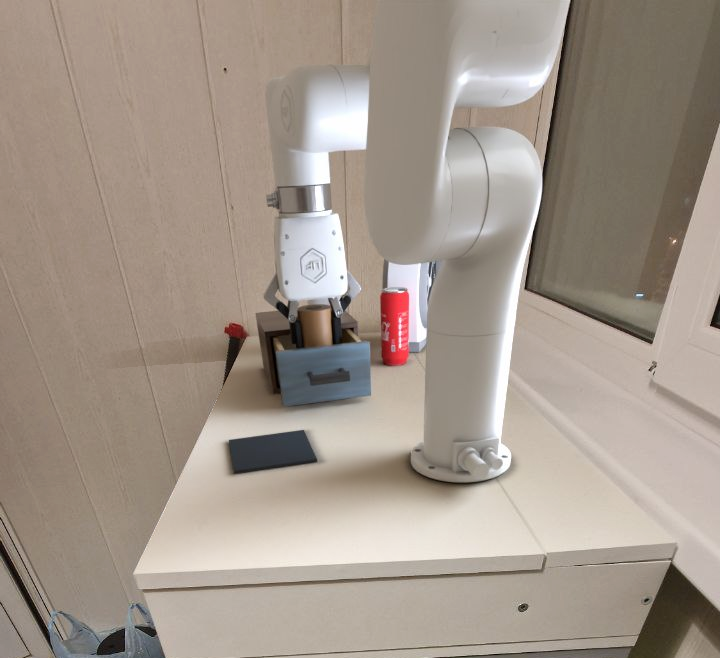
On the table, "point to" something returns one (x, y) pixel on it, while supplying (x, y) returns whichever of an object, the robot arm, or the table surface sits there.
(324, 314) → the paper roll
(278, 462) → the mat
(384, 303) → the beverage can
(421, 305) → the white and grey container
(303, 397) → the drawer
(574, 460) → the table surface
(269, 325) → the cabinet
